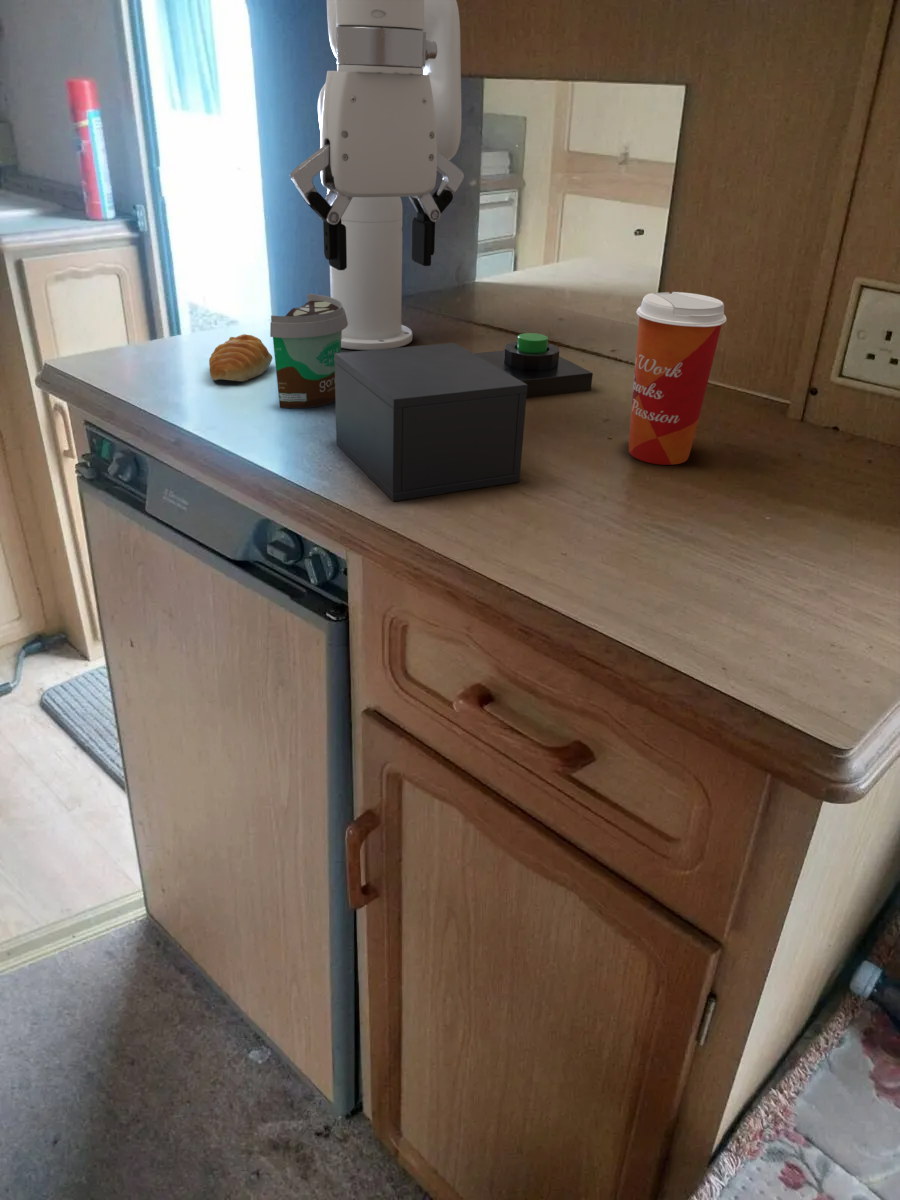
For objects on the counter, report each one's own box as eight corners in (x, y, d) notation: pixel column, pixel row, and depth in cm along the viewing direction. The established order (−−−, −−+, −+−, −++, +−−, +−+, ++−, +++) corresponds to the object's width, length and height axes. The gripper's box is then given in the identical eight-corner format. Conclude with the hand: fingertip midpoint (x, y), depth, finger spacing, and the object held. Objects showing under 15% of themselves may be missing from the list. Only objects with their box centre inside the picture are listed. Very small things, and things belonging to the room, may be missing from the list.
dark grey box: (336, 444, 90) (334, 353, 86) (451, 430, 95) (454, 342, 90) (393, 501, 79) (393, 399, 74) (519, 481, 84) (527, 384, 79)
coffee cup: (601, 444, 93) (621, 292, 86) (668, 435, 96) (693, 288, 88) (648, 474, 86) (673, 312, 79) (718, 464, 89) (749, 307, 82)
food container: (329, 417, 97) (326, 321, 92) (274, 411, 98) (269, 316, 93) (362, 384, 107) (361, 297, 102) (312, 379, 108) (309, 292, 103)
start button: (511, 348, 110) (512, 334, 109) (537, 346, 112) (538, 331, 111) (526, 356, 107) (527, 341, 107) (552, 353, 109) (553, 339, 108)
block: (470, 370, 114) (472, 338, 112) (539, 364, 118) (542, 332, 116) (517, 399, 105) (520, 365, 103) (590, 391, 109) (594, 357, 107)
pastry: (253, 387, 105) (251, 354, 103) (196, 384, 105) (192, 351, 103) (275, 365, 113) (273, 334, 111) (221, 362, 113) (218, 331, 111)
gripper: (451, 58, 85) (445, 255, 94) (269, 49, 78) (281, 262, 87) (488, 59, 79) (478, 268, 88) (296, 49, 73) (305, 277, 81)
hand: (380, 264), depth 88 cm, fingers open, 8 cm apart
